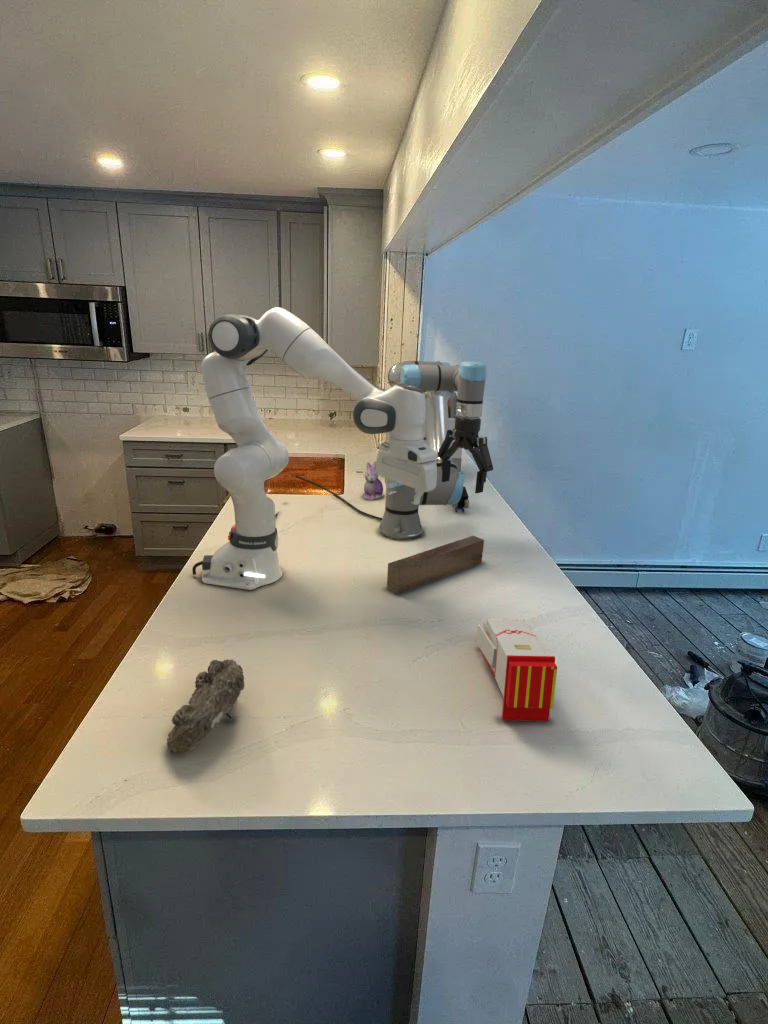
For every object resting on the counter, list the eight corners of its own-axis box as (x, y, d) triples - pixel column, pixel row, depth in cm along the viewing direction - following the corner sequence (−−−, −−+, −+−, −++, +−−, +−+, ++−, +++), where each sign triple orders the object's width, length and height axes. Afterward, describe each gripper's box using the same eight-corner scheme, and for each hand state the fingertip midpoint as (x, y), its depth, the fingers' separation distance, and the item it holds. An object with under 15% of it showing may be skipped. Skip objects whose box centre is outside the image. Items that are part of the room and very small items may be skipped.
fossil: (192, 660, 117) (244, 628, 112) (224, 691, 120) (276, 661, 115) (142, 746, 98) (202, 712, 93) (182, 779, 101) (242, 748, 96)
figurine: (368, 501, 231) (369, 466, 226) (357, 494, 239) (358, 459, 234) (388, 499, 235) (390, 464, 230) (377, 492, 244) (378, 458, 239)
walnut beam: (386, 589, 160) (388, 563, 158) (470, 558, 183) (473, 535, 180) (397, 595, 157) (398, 569, 154) (481, 563, 180) (484, 539, 177)
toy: (523, 604, 135) (566, 662, 106) (518, 656, 138) (559, 727, 109) (472, 603, 135) (501, 661, 105) (468, 655, 138) (496, 726, 108)
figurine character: (469, 517, 223) (463, 501, 236) (471, 500, 219) (465, 484, 233) (452, 516, 222) (447, 500, 236) (454, 499, 219) (449, 483, 232)
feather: (286, 506, 225) (288, 502, 225) (268, 529, 199) (271, 525, 198) (282, 503, 225) (284, 499, 225) (264, 526, 199) (267, 522, 198)
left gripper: (371, 441, 152) (369, 491, 156) (424, 458, 137) (420, 512, 142) (388, 439, 156) (386, 487, 160) (442, 455, 141) (438, 507, 146)
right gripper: (428, 411, 171) (424, 478, 178) (493, 425, 154) (485, 499, 161) (446, 409, 176) (440, 475, 183) (510, 423, 158) (502, 495, 166)
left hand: (403, 499), depth 151 cm, fingers open, 8 cm apart
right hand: (461, 486), depth 172 cm, fingers open, 13 cm apart
